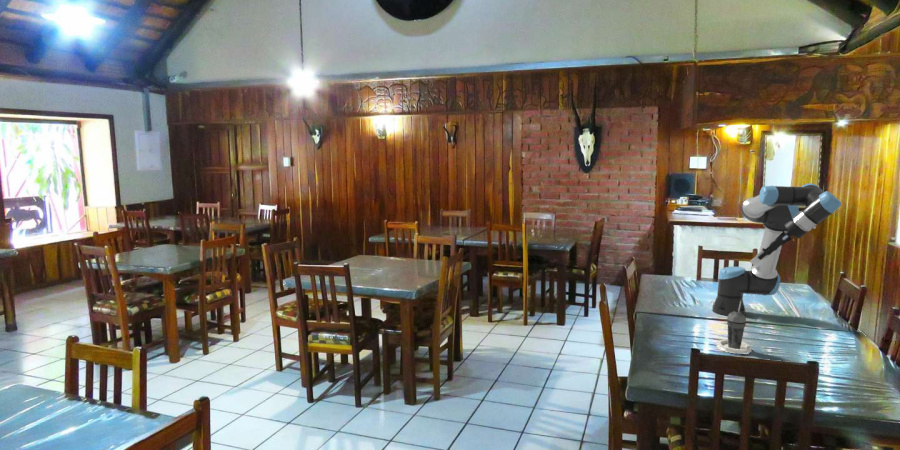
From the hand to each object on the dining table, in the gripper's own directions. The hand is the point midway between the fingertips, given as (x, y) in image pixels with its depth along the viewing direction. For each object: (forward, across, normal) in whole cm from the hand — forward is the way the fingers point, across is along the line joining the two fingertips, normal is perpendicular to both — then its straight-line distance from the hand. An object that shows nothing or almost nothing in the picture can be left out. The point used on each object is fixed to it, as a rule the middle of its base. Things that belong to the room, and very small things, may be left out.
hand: (755, 260), depth 226 cm
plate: (+32, -3, -22) cm, 38 cm away
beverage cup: (+31, -3, -21) cm, 38 cm away
